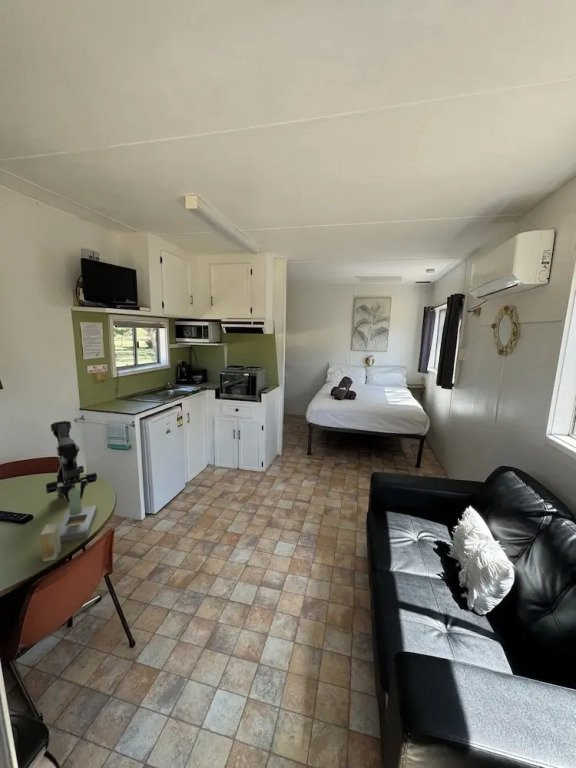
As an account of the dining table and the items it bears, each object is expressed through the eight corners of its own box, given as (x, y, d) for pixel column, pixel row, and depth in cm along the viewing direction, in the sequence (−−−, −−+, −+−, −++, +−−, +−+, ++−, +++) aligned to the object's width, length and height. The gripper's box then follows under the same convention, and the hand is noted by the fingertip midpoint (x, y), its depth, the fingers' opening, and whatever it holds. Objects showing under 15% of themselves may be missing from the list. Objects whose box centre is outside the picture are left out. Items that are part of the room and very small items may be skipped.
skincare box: (48, 550, 122) (45, 523, 120) (61, 548, 124) (59, 521, 122) (42, 562, 116) (39, 534, 114) (56, 560, 118) (53, 532, 116)
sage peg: (72, 509, 138) (70, 485, 136) (83, 509, 139) (81, 485, 137) (67, 515, 134) (65, 491, 132) (78, 515, 135) (77, 490, 133)
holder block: (67, 515, 145) (67, 509, 144) (97, 511, 149) (96, 505, 148) (53, 543, 126) (52, 537, 126) (87, 537, 131) (86, 531, 130)
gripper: (43, 466, 129) (48, 502, 123) (95, 456, 141) (101, 488, 135) (44, 476, 136) (48, 510, 130) (93, 465, 148) (98, 496, 142)
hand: (75, 500), depth 134 cm, fingers closed on sage peg, 4 cm apart
